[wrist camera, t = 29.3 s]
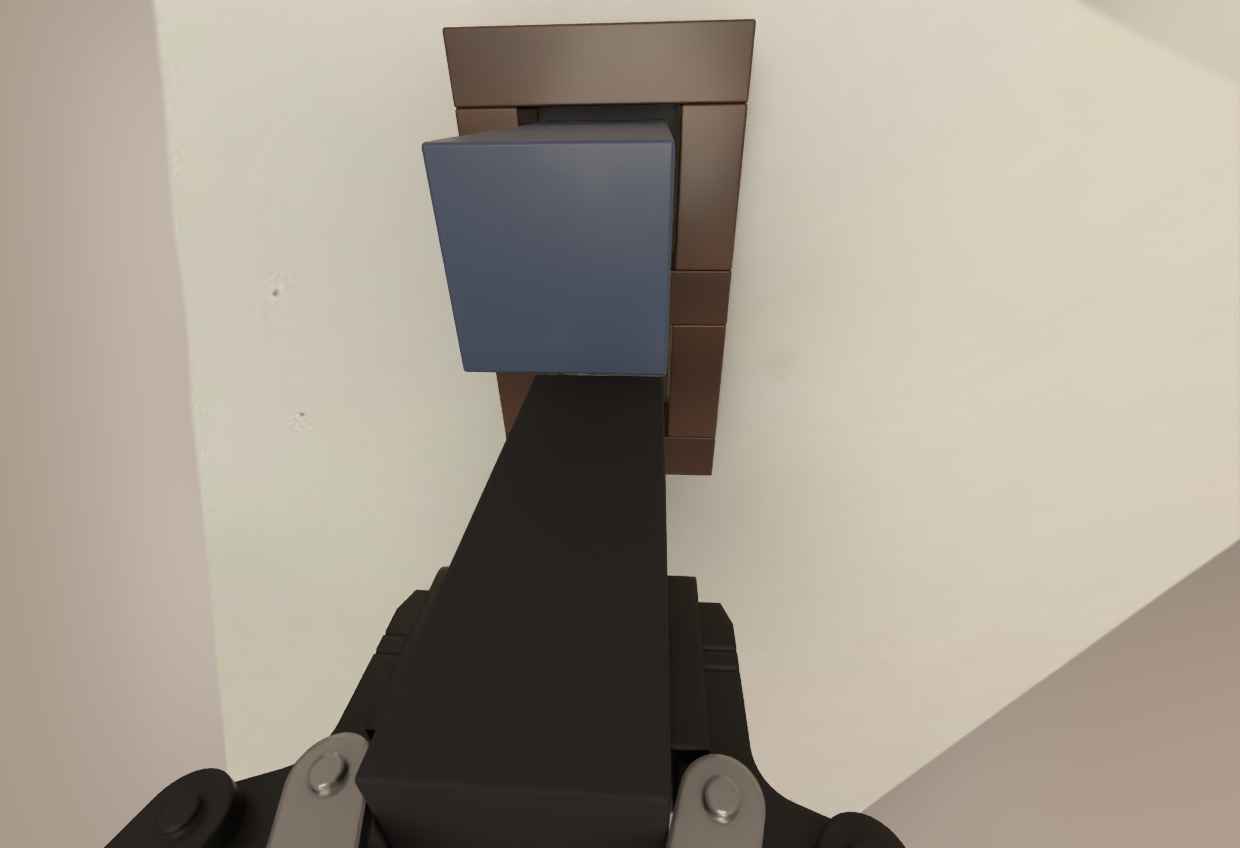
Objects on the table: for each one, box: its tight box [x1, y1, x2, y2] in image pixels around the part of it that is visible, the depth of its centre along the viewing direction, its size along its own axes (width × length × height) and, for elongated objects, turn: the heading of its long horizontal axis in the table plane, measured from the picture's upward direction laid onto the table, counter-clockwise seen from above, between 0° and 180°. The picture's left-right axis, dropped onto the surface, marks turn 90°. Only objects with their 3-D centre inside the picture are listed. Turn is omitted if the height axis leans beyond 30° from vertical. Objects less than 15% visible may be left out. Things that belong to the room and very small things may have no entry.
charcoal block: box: [355, 375, 671, 848], centre depth 13 cm, size 4×4×12 cm
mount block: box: [443, 19, 756, 475], centre depth 20 cm, size 16×9×3 cm, turn 1°
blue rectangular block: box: [422, 119, 675, 375], centre depth 15 cm, size 4×4×12 cm
